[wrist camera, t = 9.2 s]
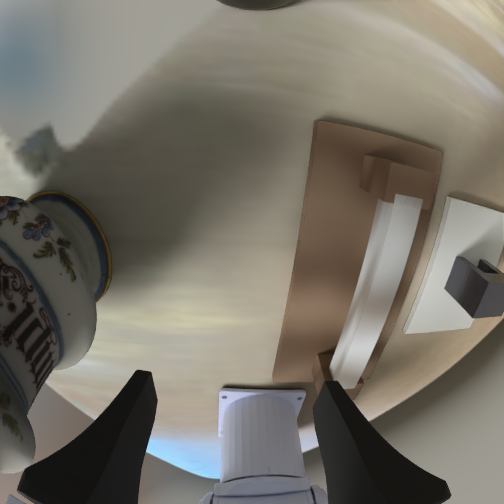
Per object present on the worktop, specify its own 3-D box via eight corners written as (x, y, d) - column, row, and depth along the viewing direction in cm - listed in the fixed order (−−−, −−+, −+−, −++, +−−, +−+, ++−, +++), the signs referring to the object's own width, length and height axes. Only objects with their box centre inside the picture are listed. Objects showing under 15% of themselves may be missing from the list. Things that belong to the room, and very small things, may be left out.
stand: (365, 371, 24) (380, 405, 20) (272, 373, 23) (276, 414, 19) (435, 150, 16) (476, 160, 12) (314, 120, 15) (337, 118, 11)
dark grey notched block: (474, 289, 20) (501, 315, 16) (443, 288, 20) (472, 318, 16) (485, 259, 19) (516, 283, 15) (456, 255, 18) (488, 282, 14)
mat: (466, 324, 23) (469, 327, 22) (402, 329, 22) (405, 334, 21) (507, 214, 18) (512, 216, 17) (446, 195, 17) (451, 198, 17)
